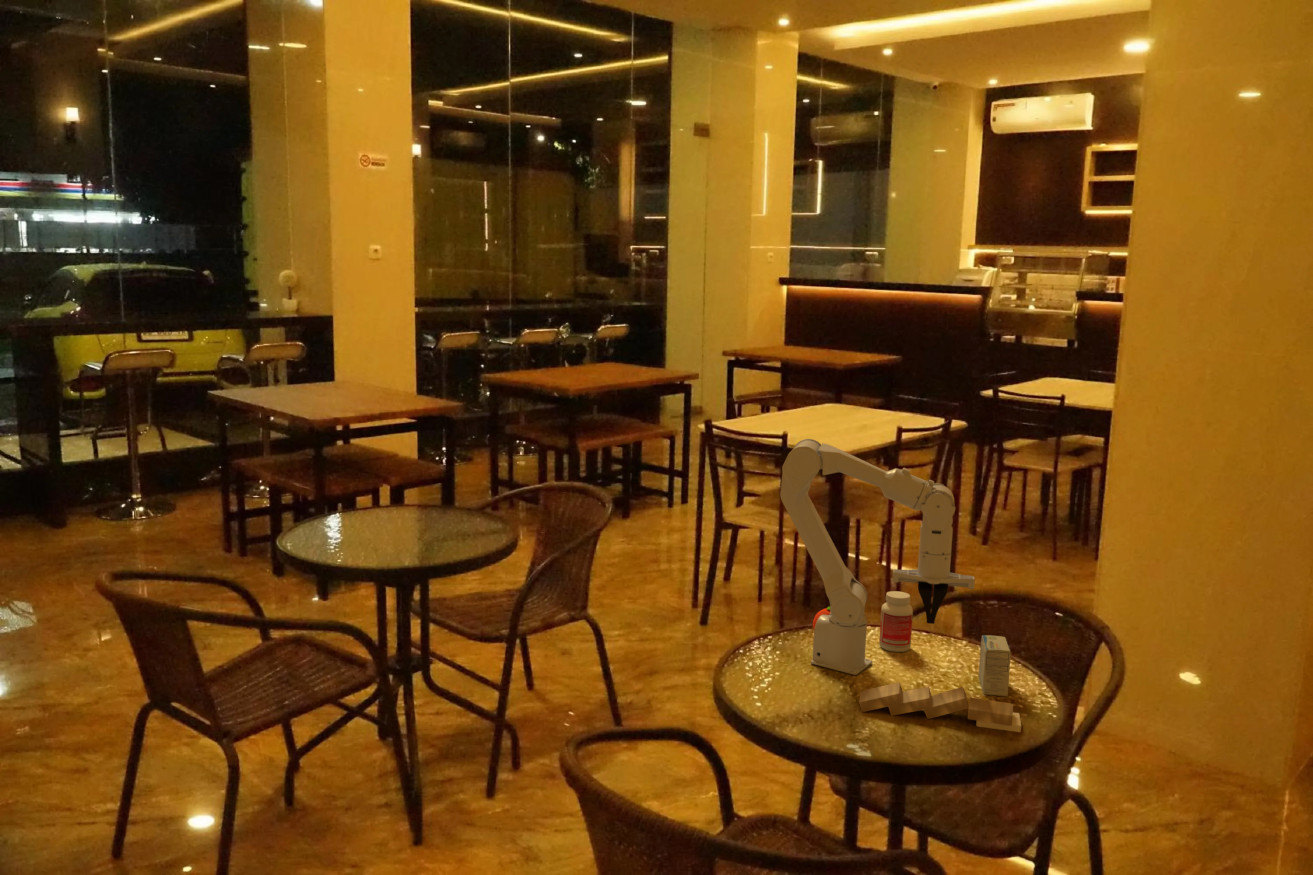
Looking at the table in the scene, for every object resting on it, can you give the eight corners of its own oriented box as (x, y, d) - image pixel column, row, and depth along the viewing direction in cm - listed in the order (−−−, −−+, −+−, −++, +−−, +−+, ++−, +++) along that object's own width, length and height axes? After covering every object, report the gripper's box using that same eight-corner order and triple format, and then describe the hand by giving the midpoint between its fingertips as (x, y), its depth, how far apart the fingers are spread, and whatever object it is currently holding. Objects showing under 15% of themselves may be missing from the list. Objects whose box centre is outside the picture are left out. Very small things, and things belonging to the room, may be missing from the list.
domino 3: (923, 709, 176) (964, 698, 174) (923, 697, 181) (962, 686, 179) (927, 719, 176) (968, 707, 174) (927, 707, 181) (966, 696, 179)
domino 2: (888, 705, 177) (929, 697, 175) (888, 694, 182) (928, 686, 180) (891, 715, 177) (932, 707, 175) (891, 703, 182) (931, 696, 180)
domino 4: (968, 708, 173) (1012, 715, 171) (970, 697, 178) (1013, 703, 176) (967, 718, 174) (1011, 725, 171) (969, 707, 178) (1012, 713, 176)
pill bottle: (915, 651, 206) (919, 598, 205) (887, 653, 205) (890, 600, 203) (901, 640, 212) (905, 588, 211) (873, 642, 211) (877, 590, 209)
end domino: (977, 719, 174) (1021, 725, 172) (976, 707, 178) (1019, 713, 177) (976, 729, 174) (1020, 735, 172) (975, 717, 179) (1018, 722, 177)
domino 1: (859, 702, 178) (899, 693, 176) (860, 690, 183) (899, 681, 181) (862, 712, 178) (902, 703, 176) (863, 700, 183) (902, 691, 181)
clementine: (812, 632, 216) (814, 599, 215) (846, 635, 215) (848, 602, 213) (811, 646, 208) (812, 612, 207) (846, 649, 207) (848, 615, 206)
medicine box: (1007, 697, 186) (1012, 651, 184) (981, 694, 187) (985, 648, 185) (1002, 680, 193) (1006, 636, 192) (977, 677, 194) (981, 633, 193)
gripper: (894, 553, 189) (889, 624, 191) (977, 560, 185) (972, 632, 188) (895, 543, 196) (891, 612, 198) (975, 550, 192) (970, 620, 194)
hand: (930, 621), depth 193 cm, fingers closed
